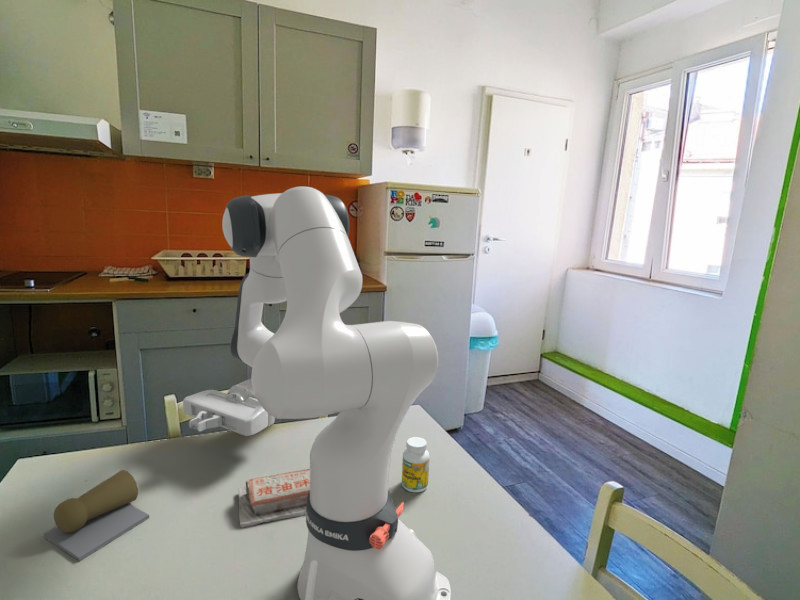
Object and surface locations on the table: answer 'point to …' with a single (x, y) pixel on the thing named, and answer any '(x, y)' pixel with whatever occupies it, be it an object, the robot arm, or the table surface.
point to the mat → (97, 531)
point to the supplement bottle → (415, 465)
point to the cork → (96, 501)
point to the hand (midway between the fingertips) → (193, 426)
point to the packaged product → (274, 497)
